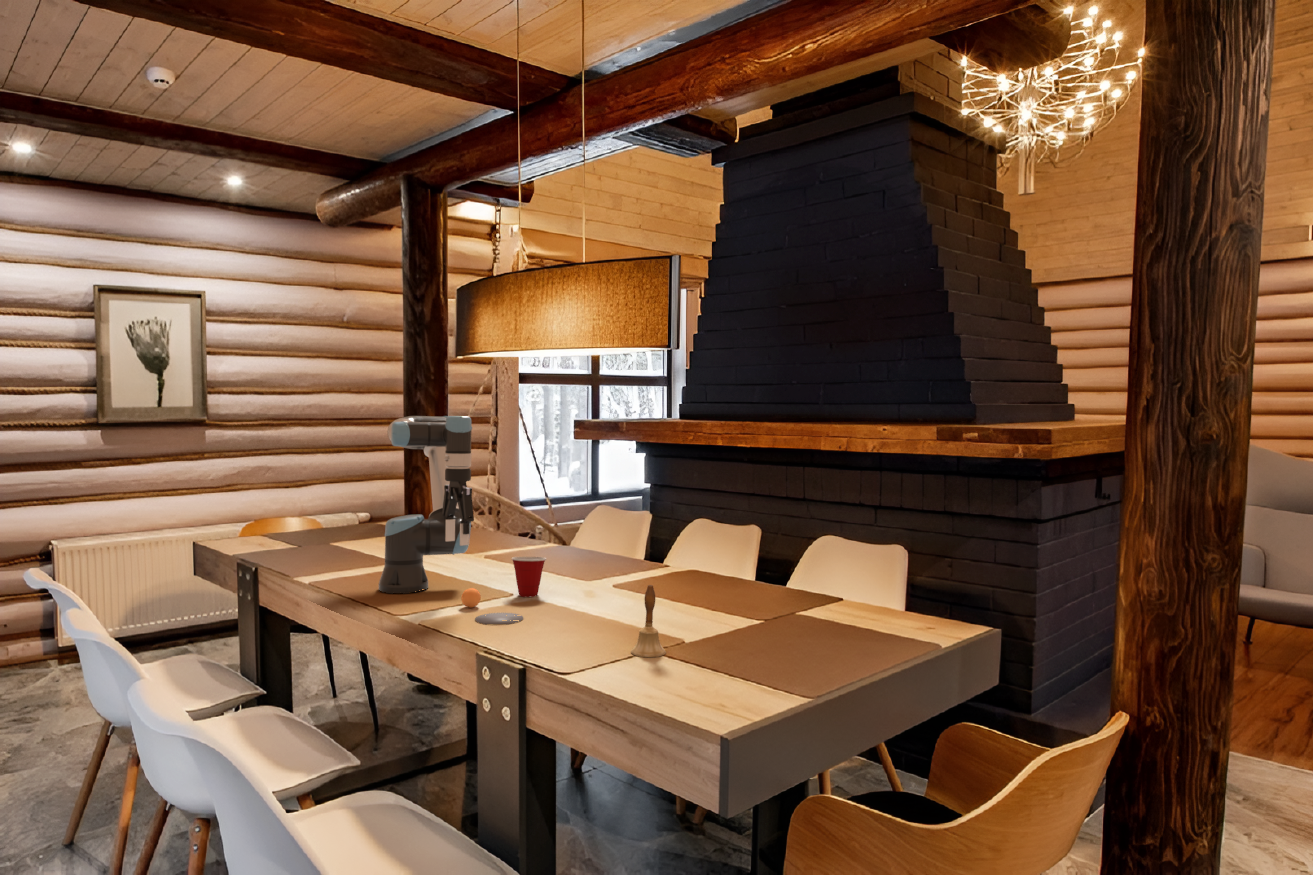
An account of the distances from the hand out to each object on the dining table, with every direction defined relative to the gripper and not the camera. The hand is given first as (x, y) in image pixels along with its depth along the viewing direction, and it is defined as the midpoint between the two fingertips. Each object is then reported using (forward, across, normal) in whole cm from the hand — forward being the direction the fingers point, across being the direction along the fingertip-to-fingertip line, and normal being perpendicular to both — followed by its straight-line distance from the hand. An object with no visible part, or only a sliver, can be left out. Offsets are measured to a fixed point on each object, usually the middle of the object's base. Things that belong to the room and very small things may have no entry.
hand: (457, 543), depth 241 cm
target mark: (+17, +26, 0) cm, 32 cm away
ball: (+15, +10, 0) cm, 18 cm away
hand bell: (+18, +76, +13) cm, 79 cm away
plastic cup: (+18, +4, +22) cm, 29 cm away
